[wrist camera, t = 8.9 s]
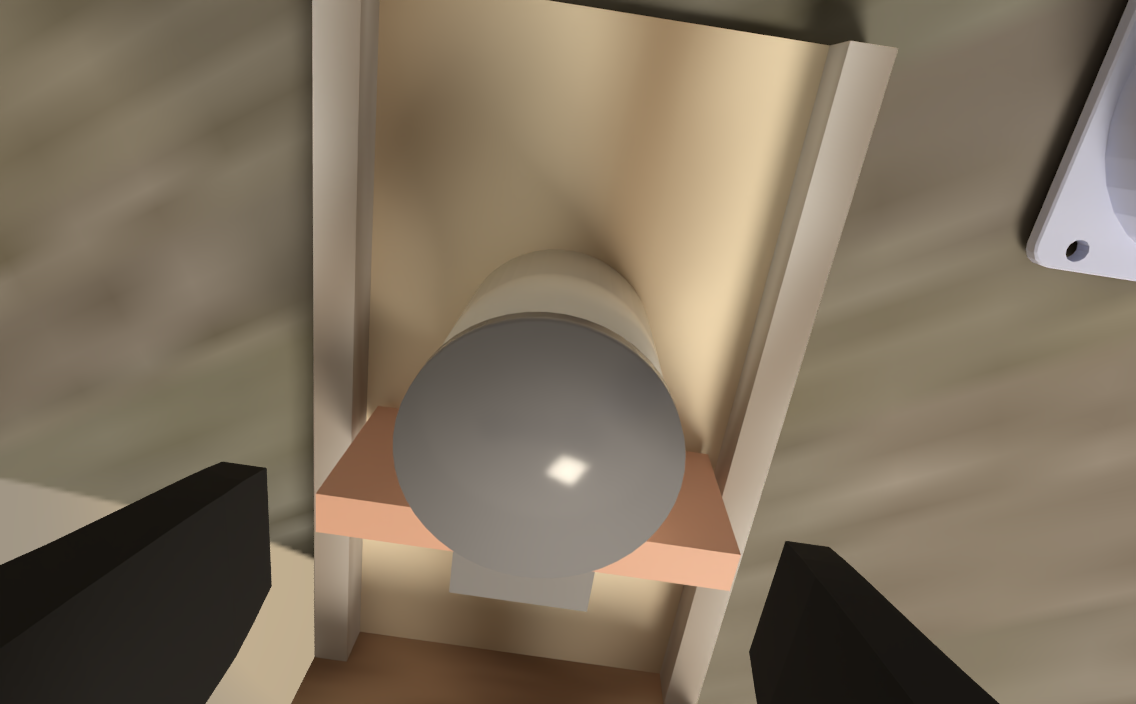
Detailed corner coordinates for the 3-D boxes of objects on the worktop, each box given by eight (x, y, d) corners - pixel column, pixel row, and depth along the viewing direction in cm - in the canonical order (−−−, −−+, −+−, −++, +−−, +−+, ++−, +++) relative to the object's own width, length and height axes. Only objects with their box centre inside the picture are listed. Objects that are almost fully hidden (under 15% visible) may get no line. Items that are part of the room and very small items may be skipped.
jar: (665, 252, 16) (704, 333, 10) (644, 435, 18) (667, 587, 12) (458, 238, 16) (385, 312, 10) (459, 422, 18) (398, 568, 12)
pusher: (707, 454, 18) (740, 555, 14) (671, 594, 19) (691, 718, 15) (377, 405, 17) (315, 493, 13) (372, 551, 19) (315, 666, 15)
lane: (868, 53, 14) (993, 31, 10) (681, 691, 22) (704, 844, 17) (340, -31, 14) (221, -94, 10) (332, 642, 21) (264, 785, 17)
